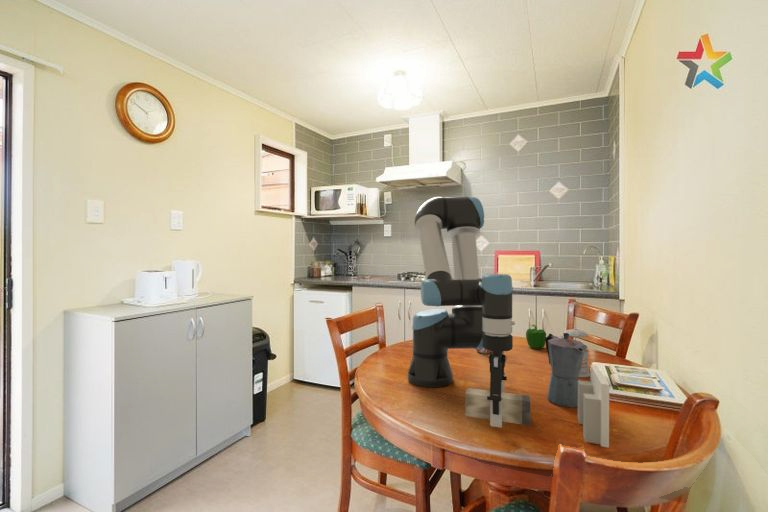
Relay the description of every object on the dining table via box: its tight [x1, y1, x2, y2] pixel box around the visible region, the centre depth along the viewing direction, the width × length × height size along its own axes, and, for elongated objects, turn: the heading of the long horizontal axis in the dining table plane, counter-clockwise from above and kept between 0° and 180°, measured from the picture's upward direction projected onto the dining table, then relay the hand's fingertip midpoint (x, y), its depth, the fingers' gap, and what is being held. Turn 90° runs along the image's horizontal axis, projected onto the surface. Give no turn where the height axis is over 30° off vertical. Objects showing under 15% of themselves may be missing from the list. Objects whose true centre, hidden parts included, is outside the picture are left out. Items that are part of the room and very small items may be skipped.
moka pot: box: [545, 332, 586, 408], centre depth 105 cm, size 10×15×20 cm, turn 16°
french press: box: [558, 301, 590, 378], centre depth 129 cm, size 10×12×25 cm
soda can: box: [475, 348, 492, 354], centre depth 156 cm, size 7×7×12 cm
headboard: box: [577, 364, 610, 449], centre depth 88 cm, size 4×14×14 cm, turn 159°
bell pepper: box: [525, 323, 547, 350], centre depth 161 cm, size 8×8×10 cm
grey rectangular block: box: [464, 387, 532, 426], centre depth 96 cm, size 16×4×6 cm, turn 69°
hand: (497, 414), depth 95 cm, fingers open, 13 cm apart
